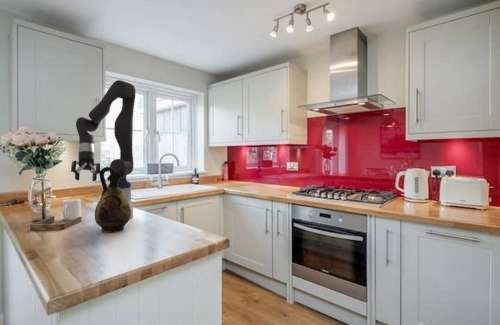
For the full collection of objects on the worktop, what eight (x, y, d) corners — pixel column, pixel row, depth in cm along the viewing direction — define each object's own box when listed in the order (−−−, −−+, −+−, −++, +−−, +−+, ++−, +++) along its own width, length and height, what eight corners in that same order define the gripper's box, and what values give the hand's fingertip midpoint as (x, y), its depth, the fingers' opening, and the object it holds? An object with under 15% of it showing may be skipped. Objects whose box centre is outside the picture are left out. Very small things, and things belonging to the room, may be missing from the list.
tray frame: (81, 221, 140) (81, 216, 140) (63, 229, 125) (62, 224, 125) (52, 221, 139) (52, 217, 139) (30, 230, 124) (30, 224, 124)
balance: (59, 216, 151) (58, 186, 151) (38, 223, 135) (37, 190, 134) (48, 216, 151) (47, 186, 150) (26, 223, 135) (25, 190, 134)
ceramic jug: (137, 225, 132) (135, 166, 131) (121, 234, 117) (119, 167, 116) (103, 225, 132) (102, 166, 131) (83, 234, 117) (82, 167, 116)
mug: (71, 222, 138) (70, 202, 138) (55, 222, 138) (54, 203, 137) (84, 216, 150) (83, 198, 150) (69, 216, 150) (68, 198, 149)
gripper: (76, 148, 139) (75, 178, 136) (102, 152, 151) (102, 180, 148) (69, 151, 143) (68, 181, 140) (95, 155, 155) (95, 182, 152)
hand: (86, 180), depth 144 cm, fingers open, 8 cm apart
